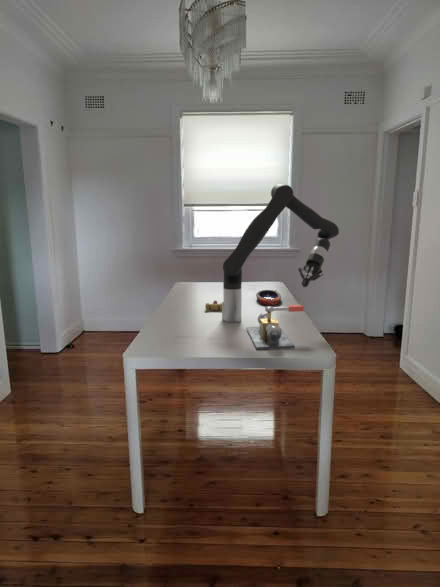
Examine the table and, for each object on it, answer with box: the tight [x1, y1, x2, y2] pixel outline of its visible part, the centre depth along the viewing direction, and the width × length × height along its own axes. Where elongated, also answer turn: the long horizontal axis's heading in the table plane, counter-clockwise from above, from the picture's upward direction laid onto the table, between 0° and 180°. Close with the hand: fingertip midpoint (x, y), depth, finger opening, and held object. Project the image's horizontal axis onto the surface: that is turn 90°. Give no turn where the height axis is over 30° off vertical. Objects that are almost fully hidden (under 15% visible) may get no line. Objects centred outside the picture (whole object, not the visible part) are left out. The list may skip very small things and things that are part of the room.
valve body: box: [245, 312, 296, 351], centre depth 167 cm, size 27×16×12 cm, turn 5°
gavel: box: [205, 300, 222, 312], centre depth 223 cm, size 21×5×10 cm
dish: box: [255, 289, 282, 306], centre depth 236 cm, size 16×31×5 cm, turn 175°
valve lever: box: [264, 304, 305, 313], centre depth 166 cm, size 17×4×2 cm, turn 95°
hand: (304, 286), depth 177 cm, fingers closed
